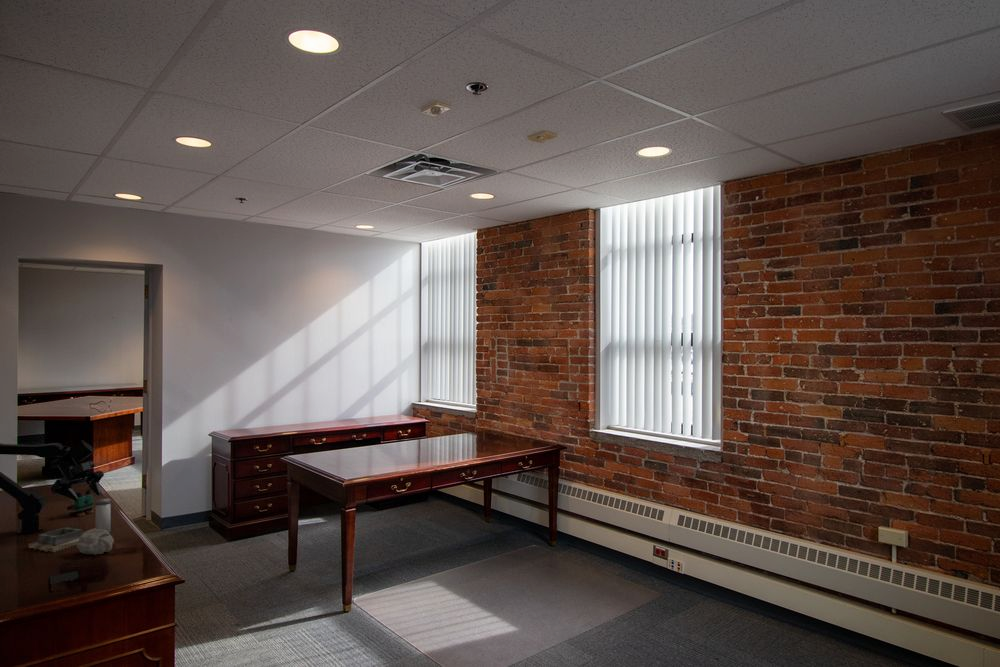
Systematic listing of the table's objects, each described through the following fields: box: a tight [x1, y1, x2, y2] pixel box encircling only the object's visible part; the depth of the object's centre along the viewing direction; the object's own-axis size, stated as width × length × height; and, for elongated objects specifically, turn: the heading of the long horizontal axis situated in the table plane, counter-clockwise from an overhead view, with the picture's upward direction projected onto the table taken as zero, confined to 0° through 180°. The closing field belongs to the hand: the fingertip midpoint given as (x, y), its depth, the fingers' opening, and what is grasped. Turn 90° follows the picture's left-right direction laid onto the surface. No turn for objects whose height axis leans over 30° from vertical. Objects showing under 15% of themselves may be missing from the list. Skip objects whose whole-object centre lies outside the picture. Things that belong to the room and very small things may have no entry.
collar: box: [27, 526, 84, 553], centre depth 225 cm, size 14×14×4 cm
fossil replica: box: [76, 527, 115, 556], centre depth 216 cm, size 12×8×10 cm
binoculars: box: [66, 488, 95, 517], centre depth 266 cm, size 9×11×10 cm
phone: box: [49, 571, 79, 585], centre depth 189 cm, size 7×1×15 cm
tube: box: [94, 498, 112, 533], centre depth 239 cm, size 5×5×13 cm
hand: (88, 497), depth 242 cm, fingers open, 9 cm apart
